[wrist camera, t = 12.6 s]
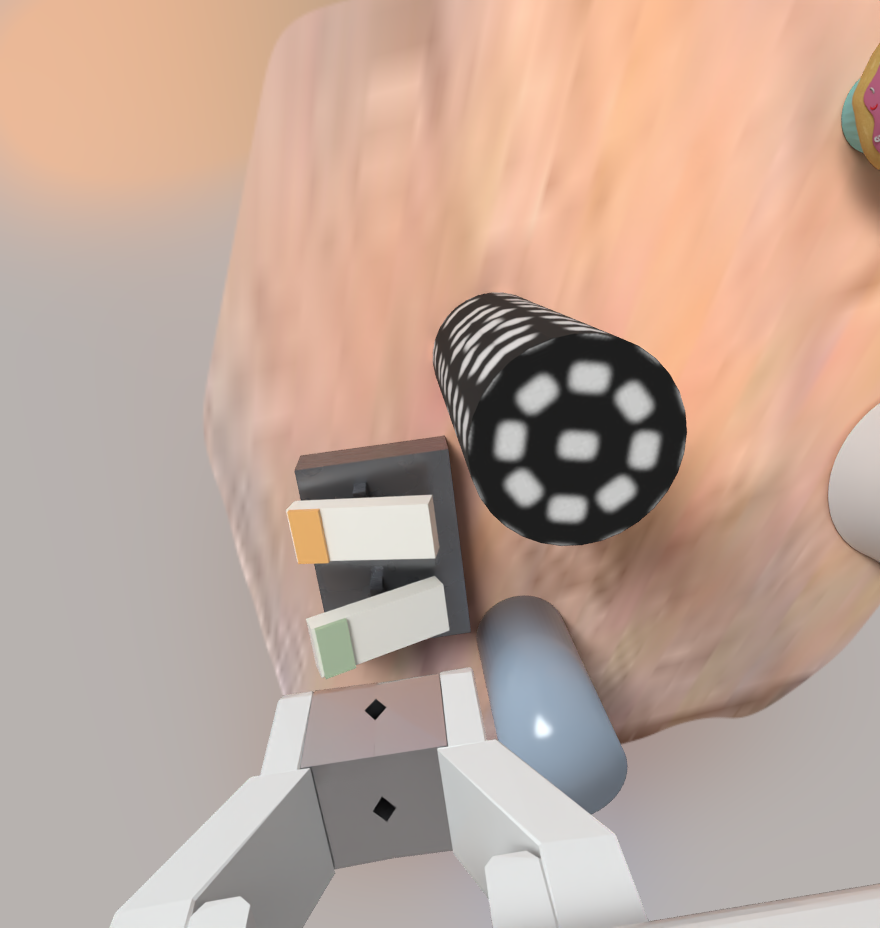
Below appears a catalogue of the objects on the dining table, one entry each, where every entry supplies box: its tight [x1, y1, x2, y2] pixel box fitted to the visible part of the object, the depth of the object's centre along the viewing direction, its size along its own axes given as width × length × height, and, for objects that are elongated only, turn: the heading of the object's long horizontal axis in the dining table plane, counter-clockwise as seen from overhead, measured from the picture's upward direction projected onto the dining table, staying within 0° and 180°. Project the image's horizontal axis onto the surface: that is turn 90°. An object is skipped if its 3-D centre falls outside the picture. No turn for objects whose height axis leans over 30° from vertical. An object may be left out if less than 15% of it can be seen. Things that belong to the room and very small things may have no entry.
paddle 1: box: [286, 495, 439, 564], centre depth 40 cm, size 9×4×2 cm, turn 97°
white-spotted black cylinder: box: [433, 293, 687, 546], centre depth 33 cm, size 8×8×20 cm
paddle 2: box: [306, 576, 449, 679], centre depth 42 cm, size 9×4×2 cm, turn 97°
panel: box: [295, 436, 471, 638], centre depth 44 cm, size 10×14×5 cm
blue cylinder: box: [476, 596, 627, 814], centre depth 43 cm, size 7×7×14 cm
